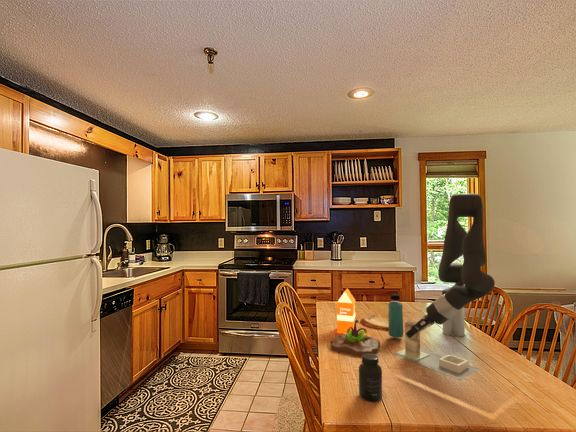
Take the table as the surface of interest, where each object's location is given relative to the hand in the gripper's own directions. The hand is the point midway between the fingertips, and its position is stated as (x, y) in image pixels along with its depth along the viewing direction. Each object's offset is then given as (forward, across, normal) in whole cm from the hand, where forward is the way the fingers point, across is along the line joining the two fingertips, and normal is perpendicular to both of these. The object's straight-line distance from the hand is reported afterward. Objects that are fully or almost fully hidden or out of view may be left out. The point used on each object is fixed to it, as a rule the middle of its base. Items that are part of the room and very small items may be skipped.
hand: (412, 333), depth 125 cm
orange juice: (+32, -8, -19) cm, 38 cm away
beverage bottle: (+16, -15, -3) cm, 22 cm away
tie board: (+1, 0, +12) cm, 12 cm away
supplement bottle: (+5, +37, +9) cm, 38 cm away
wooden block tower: (+6, 0, +6) cm, 8 cm away
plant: (+23, +6, -9) cm, 25 cm away
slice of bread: (+28, -28, -14) cm, 41 cm away
